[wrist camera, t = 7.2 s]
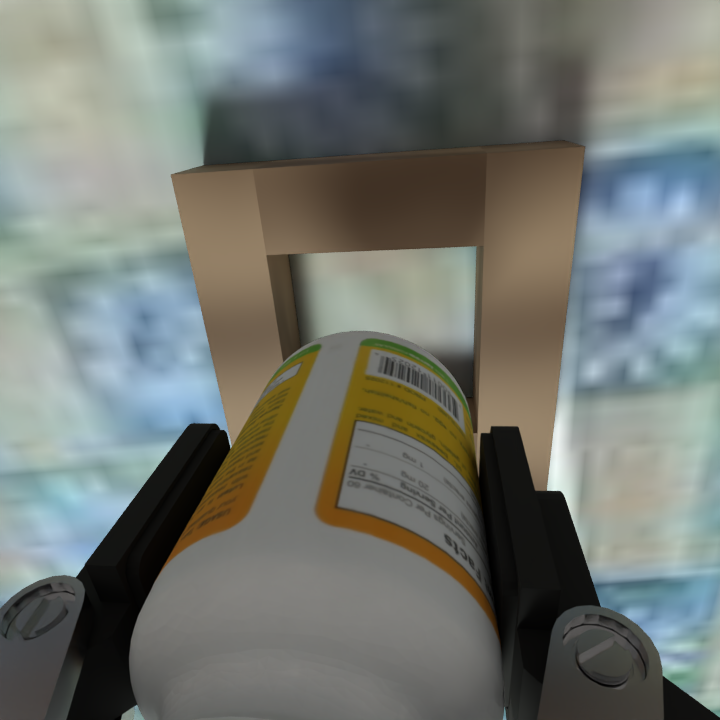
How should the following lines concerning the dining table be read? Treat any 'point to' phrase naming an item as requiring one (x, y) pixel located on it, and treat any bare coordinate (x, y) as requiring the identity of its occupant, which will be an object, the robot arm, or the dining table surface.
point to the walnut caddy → (392, 232)
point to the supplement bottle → (333, 555)
